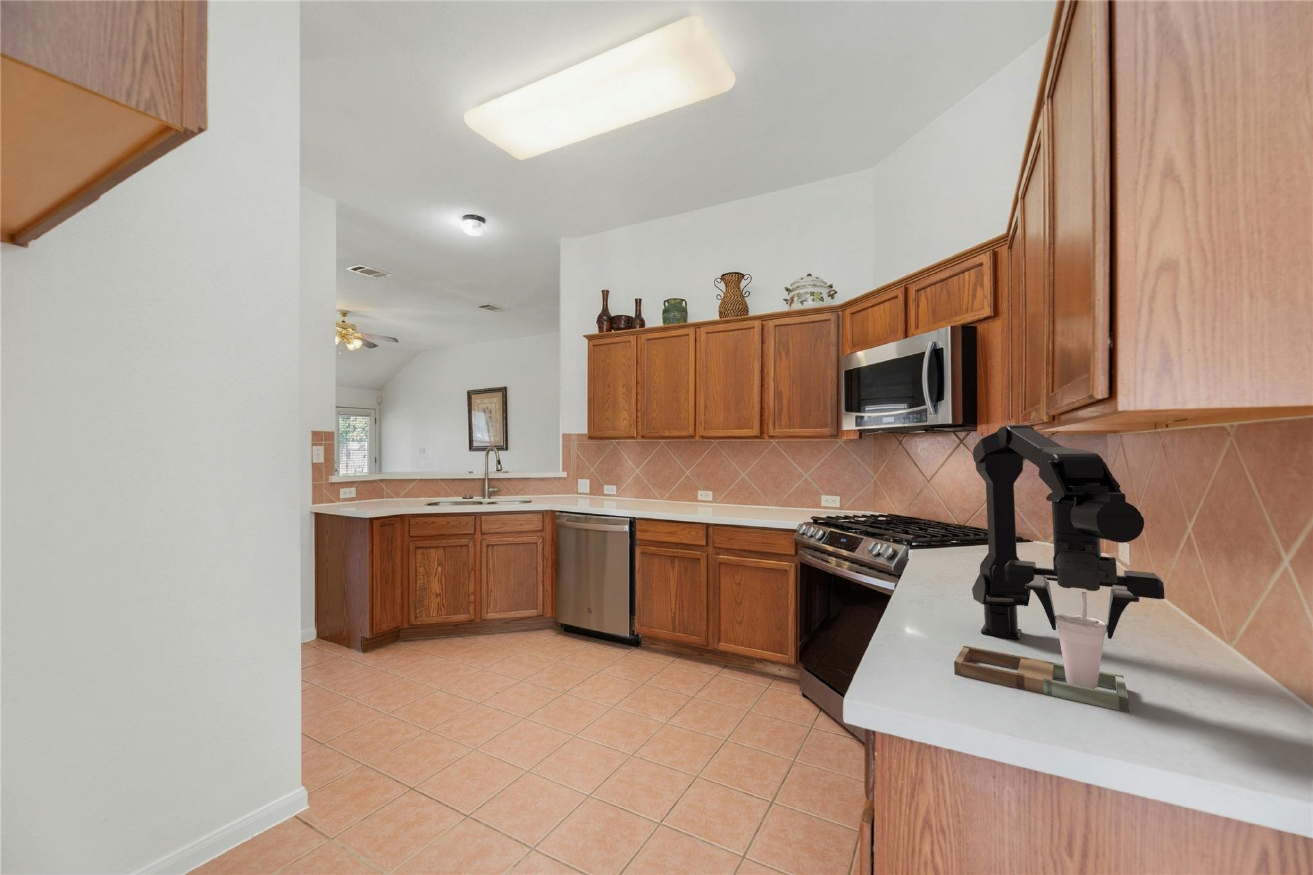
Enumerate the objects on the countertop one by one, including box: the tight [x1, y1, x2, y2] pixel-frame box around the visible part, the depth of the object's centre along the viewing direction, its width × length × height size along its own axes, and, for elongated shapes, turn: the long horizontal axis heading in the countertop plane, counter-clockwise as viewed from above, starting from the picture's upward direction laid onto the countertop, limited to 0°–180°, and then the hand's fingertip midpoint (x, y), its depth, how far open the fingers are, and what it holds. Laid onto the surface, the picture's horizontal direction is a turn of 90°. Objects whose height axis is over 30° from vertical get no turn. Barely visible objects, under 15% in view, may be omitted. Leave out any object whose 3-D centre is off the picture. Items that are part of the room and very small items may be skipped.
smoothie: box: [1055, 591, 1108, 689], centre depth 79 cm, size 6×6×14 cm
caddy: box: [953, 645, 1130, 713], centre depth 83 cm, size 10×22×2 cm, turn 51°
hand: (1081, 633), depth 79 cm, fingers closed on smoothie, 6 cm apart
